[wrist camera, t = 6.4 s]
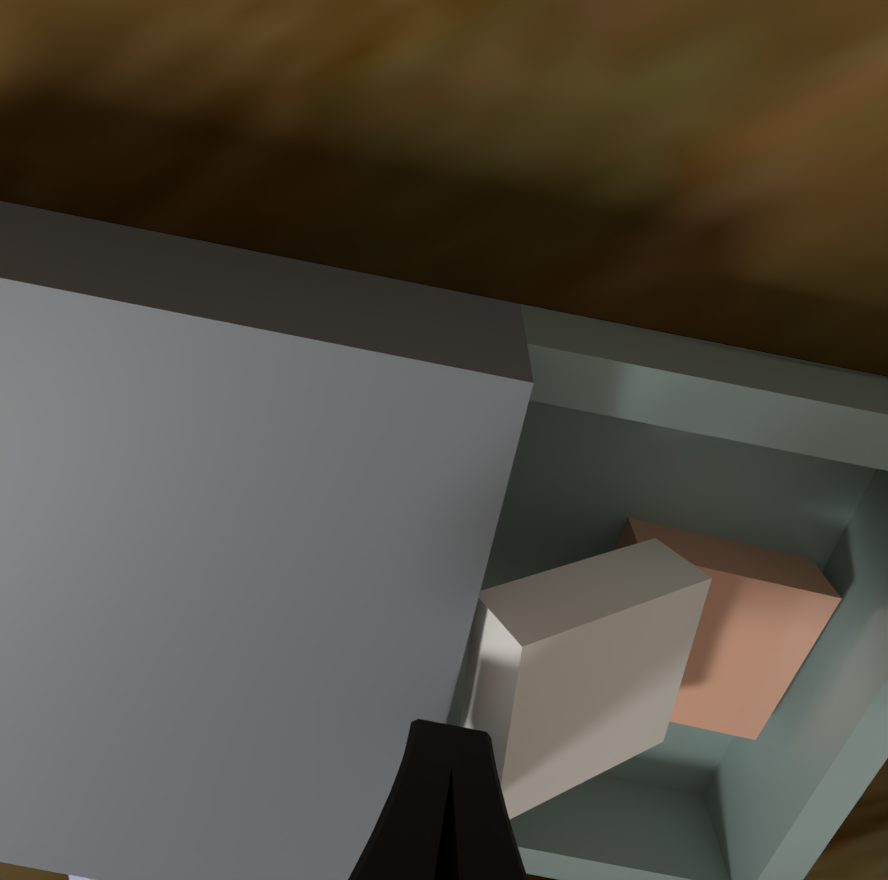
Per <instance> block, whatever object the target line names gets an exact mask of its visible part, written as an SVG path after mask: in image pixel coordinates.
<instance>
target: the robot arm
mask: <svg viewBox="0 0 888 880" xmlns="http://www.w3.org/2000/svg"><path fill="white" fill-rule="evenodd" d="M69 880H95V879H89V878H84V877H79V876H73V875H69ZM348 880H528V877H527V874H526V871H525V868H524V865H523V862H522V859H521V856H520V852H519V849H518V846H517V843H516V840H515V836H514V833H513V830H512V826H511V823H510V819H509V816H508V812H507V808H506V805H505V801H504V797H503V793H502V789H501V785H500V781H499V777H498V772H497V767H496V763H495V757H494V752H493V746H492V740H491V737H490V735H489V734H488V733H487V732H486V731H480V730H475V729H470V728H465V727H459V726H454V725H449V724H444V723H438V722H433V721H428V720H423V719H417V720H415V721H412V722H411V724H410V729H409V733H408V738H407V742H406V747H405V751H404V755H403V758H402V761H401V764H400V767H399V770H398V773H397V775H396V778H395V780H394V783H393V786H392V788H391V791H390V793H389V796H388V798H387V800H386V802H385V805H384V807H383V809H382V811H381V814H380V816H379V818H378V820H377V823H376V825H375V827H374V829H373V832H372V834H371V836H370V838H369V840H368V842H367V844H366V846H365V848H364V850H363V852H362V854H361V856H360V857H359V859H358V861H357V863H356V865H355V867H354V869H353V871H352V873H351V875H350V877H349V879H348Z"/></svg>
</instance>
